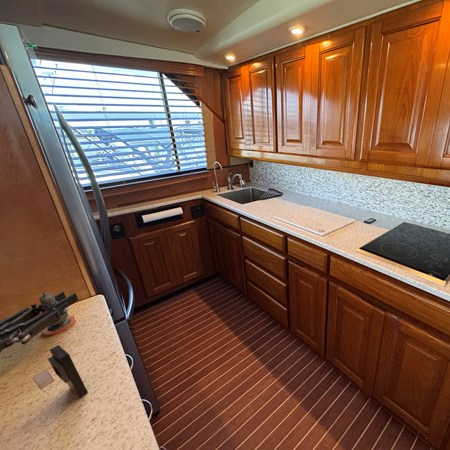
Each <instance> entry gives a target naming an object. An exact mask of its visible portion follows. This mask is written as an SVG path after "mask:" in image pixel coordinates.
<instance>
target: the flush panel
mask: <svg viewBox="0 0 450 450" xmlns="http://www.w3.org/2000/svg"><path fill="white" fill-rule="evenodd" d="M49 352H50V354H51V356H50V357H48V358H47V360H48V362H49V364H50V366H51V367H52V369H53V371H54V373H55V375H56V377H57V376H58V378H59V379H60V380H61V381H62V382H63V383H64V384H67V385H68V387H69V389H70V390H71V391H72V392H73V394H75V395H76V396H77V397H78V398H79V399H81V398H83V397H84V396H86V395H87V394H88V393H89V392H88V390H87V387H86V385H85V384H84V381H83V379H82V378H81V375H80V373H79V372H78V370H77V368H76V365H75V364H74V363H75V362H74V361H73V359H72V357H71V356H70V353H68V352H67V351H66V350H65V349H64V348H63V347H62V346H60V344H56V345H55V346H54V347H52V348H50V349H49Z"/></svg>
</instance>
